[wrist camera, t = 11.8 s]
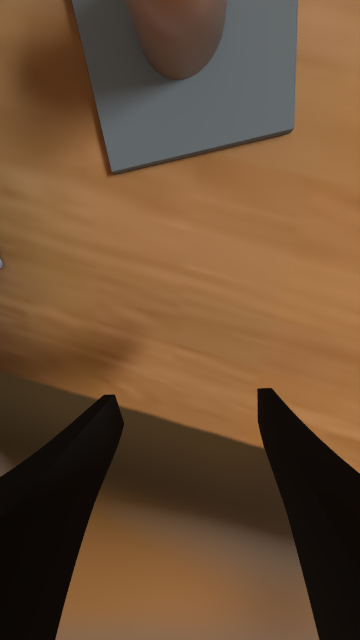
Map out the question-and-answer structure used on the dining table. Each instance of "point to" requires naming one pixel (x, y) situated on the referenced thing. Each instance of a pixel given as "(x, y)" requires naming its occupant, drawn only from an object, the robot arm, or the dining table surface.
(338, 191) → the dining table surface
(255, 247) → the dining table surface
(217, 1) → the terracotta cylinder
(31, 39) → the dining table surface
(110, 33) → the rubber mat
